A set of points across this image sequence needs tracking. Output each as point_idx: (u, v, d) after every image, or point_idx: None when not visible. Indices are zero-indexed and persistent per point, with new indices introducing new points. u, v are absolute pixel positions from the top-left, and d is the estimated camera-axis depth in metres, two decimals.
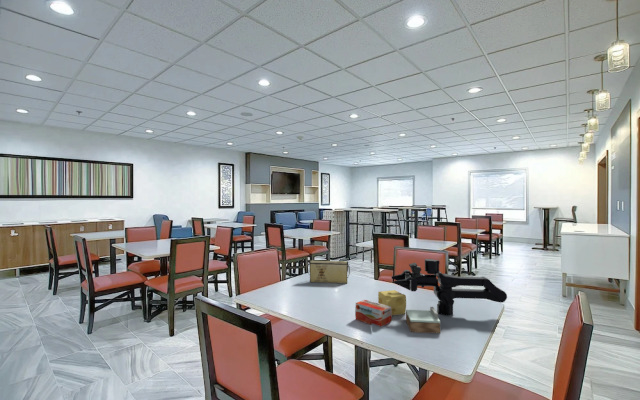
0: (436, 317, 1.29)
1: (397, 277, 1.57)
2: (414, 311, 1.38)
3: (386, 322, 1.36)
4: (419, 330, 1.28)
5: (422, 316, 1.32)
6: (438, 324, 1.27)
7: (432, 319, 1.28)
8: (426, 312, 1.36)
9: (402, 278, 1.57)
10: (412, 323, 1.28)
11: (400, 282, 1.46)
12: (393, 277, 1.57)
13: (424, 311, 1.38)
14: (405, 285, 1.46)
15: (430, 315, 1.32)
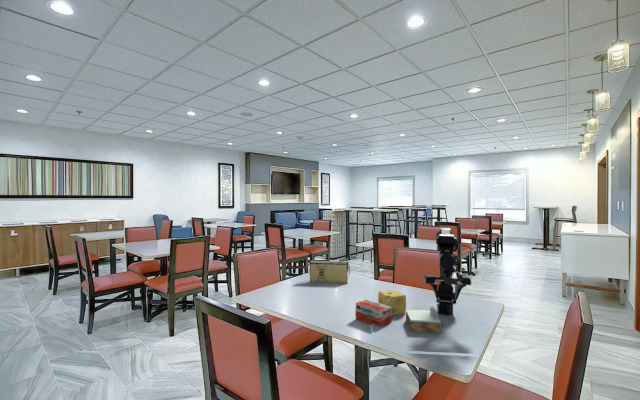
0: (436, 317, 1.29)
1: None
2: (414, 311, 1.38)
3: (386, 322, 1.36)
4: (419, 330, 1.28)
5: (422, 316, 1.32)
6: (438, 324, 1.27)
7: (432, 319, 1.28)
8: (426, 312, 1.36)
9: None
10: (412, 323, 1.28)
11: None
12: None
13: (424, 311, 1.38)
14: None
15: (430, 315, 1.32)
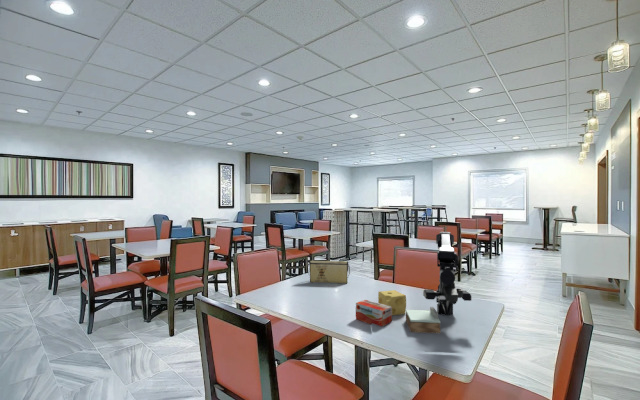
0: (436, 317, 1.29)
1: None
2: (414, 311, 1.38)
3: (386, 322, 1.36)
4: (419, 330, 1.28)
5: (422, 316, 1.32)
6: (438, 324, 1.27)
7: (432, 319, 1.28)
8: (426, 312, 1.36)
9: None
10: (412, 323, 1.28)
11: None
12: None
13: (424, 311, 1.38)
14: None
15: (430, 315, 1.32)
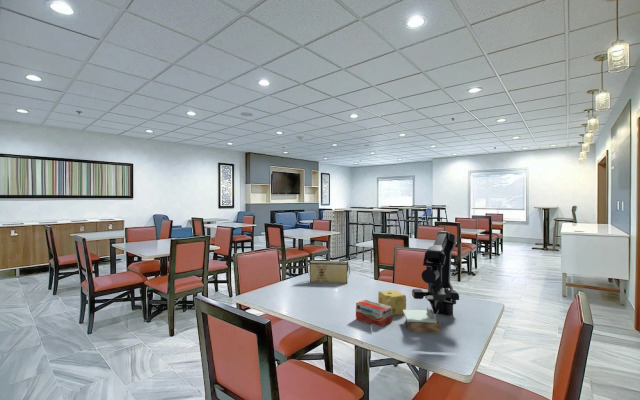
0: (433, 317, 1.29)
1: None
2: (411, 311, 1.38)
3: (387, 322, 1.36)
4: (419, 330, 1.28)
5: (418, 315, 1.32)
6: (438, 324, 1.27)
7: (429, 319, 1.29)
8: (422, 312, 1.36)
9: None
10: (412, 323, 1.28)
11: None
12: None
13: (421, 311, 1.38)
14: None
15: (427, 315, 1.33)
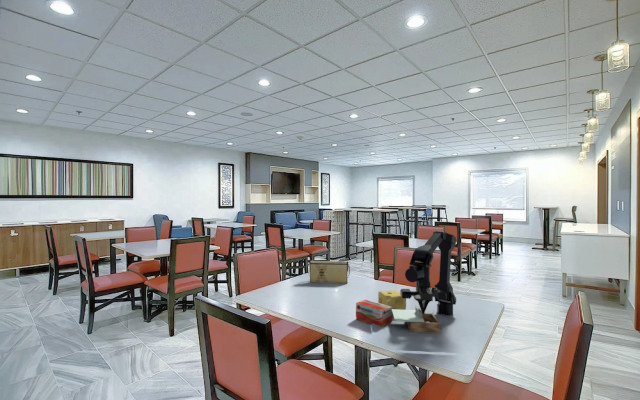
0: (420, 316, 1.30)
1: None
2: (399, 310, 1.38)
3: (387, 322, 1.36)
4: (419, 330, 1.28)
5: (406, 315, 1.33)
6: (438, 324, 1.27)
7: (416, 318, 1.29)
8: (411, 312, 1.37)
9: None
10: (412, 323, 1.28)
11: None
12: None
13: (409, 310, 1.38)
14: None
15: (415, 315, 1.33)
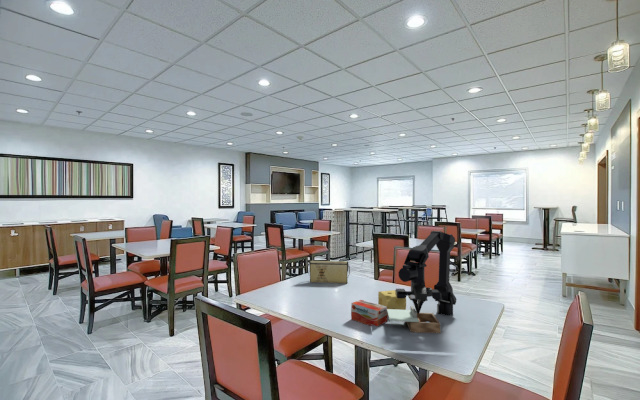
0: (415, 316, 1.30)
1: None
2: (395, 310, 1.39)
3: (382, 322, 1.37)
4: (419, 330, 1.28)
5: (401, 315, 1.33)
6: (438, 324, 1.27)
7: (411, 318, 1.29)
8: (406, 312, 1.37)
9: None
10: (412, 323, 1.28)
11: None
12: None
13: (404, 310, 1.39)
14: None
15: (410, 315, 1.33)
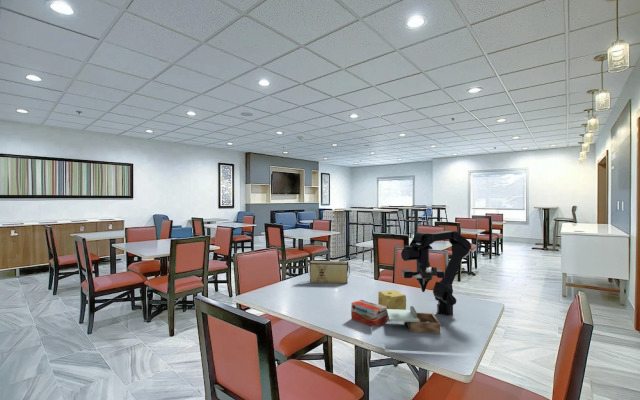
0: (415, 316, 1.30)
1: None
2: (394, 310, 1.39)
3: (381, 322, 1.36)
4: (419, 330, 1.28)
5: (401, 315, 1.33)
6: (438, 324, 1.27)
7: (411, 318, 1.29)
8: (406, 312, 1.37)
9: None
10: (412, 323, 1.28)
11: None
12: None
13: (404, 310, 1.39)
14: None
15: (410, 315, 1.33)
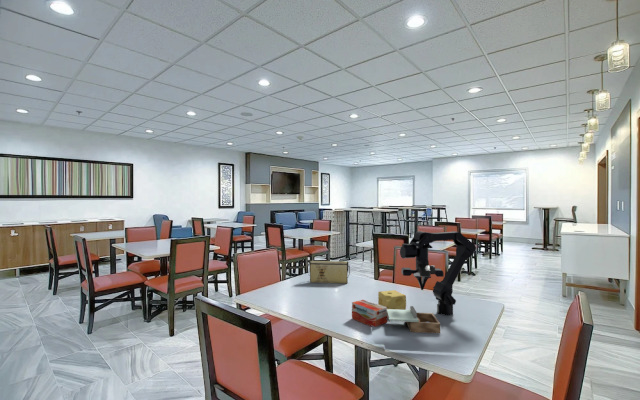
0: (415, 316, 1.30)
1: None
2: (394, 310, 1.39)
3: (381, 322, 1.36)
4: (419, 330, 1.28)
5: (401, 315, 1.33)
6: (438, 324, 1.27)
7: (411, 318, 1.29)
8: (406, 312, 1.37)
9: None
10: (412, 323, 1.28)
11: None
12: None
13: (404, 310, 1.39)
14: None
15: (410, 315, 1.33)
